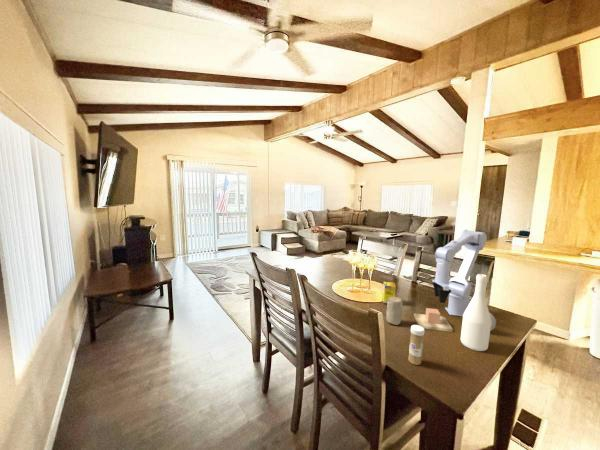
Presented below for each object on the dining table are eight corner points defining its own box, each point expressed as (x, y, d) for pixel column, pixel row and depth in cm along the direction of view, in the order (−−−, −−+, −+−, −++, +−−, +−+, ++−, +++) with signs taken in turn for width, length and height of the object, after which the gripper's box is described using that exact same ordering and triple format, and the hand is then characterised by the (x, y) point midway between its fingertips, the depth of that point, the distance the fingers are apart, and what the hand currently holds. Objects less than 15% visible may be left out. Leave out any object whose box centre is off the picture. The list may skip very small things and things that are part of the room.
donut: (493, 332, 117) (496, 311, 116) (495, 335, 114) (498, 314, 113) (467, 326, 122) (470, 306, 121) (468, 329, 119) (470, 309, 118)
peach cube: (436, 318, 126) (437, 309, 125) (439, 324, 121) (440, 314, 121) (425, 317, 127) (426, 308, 127) (427, 322, 122) (428, 312, 122)
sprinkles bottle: (406, 361, 96) (409, 327, 94) (410, 355, 100) (413, 323, 98) (419, 367, 93) (422, 332, 91) (423, 361, 97) (426, 327, 95)
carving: (404, 324, 123) (406, 300, 121) (392, 327, 120) (393, 302, 118) (395, 318, 129) (396, 295, 127) (382, 320, 126) (384, 297, 124)
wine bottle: (488, 355, 101) (498, 281, 97) (460, 347, 106) (467, 276, 102) (486, 343, 109) (495, 274, 105) (460, 336, 114) (467, 269, 110)
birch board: (444, 319, 129) (444, 316, 129) (452, 331, 117) (452, 329, 117) (413, 315, 132) (414, 313, 132) (419, 327, 120) (419, 325, 120)
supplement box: (394, 305, 143) (396, 286, 142) (383, 304, 144) (384, 285, 143) (393, 300, 149) (394, 282, 147) (382, 299, 150) (383, 281, 149)
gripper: (429, 267, 133) (427, 292, 135) (438, 276, 119) (435, 304, 121) (444, 268, 131) (442, 294, 133) (455, 277, 117) (451, 306, 119)
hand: (439, 299), depth 127 cm, fingers open, 7 cm apart
